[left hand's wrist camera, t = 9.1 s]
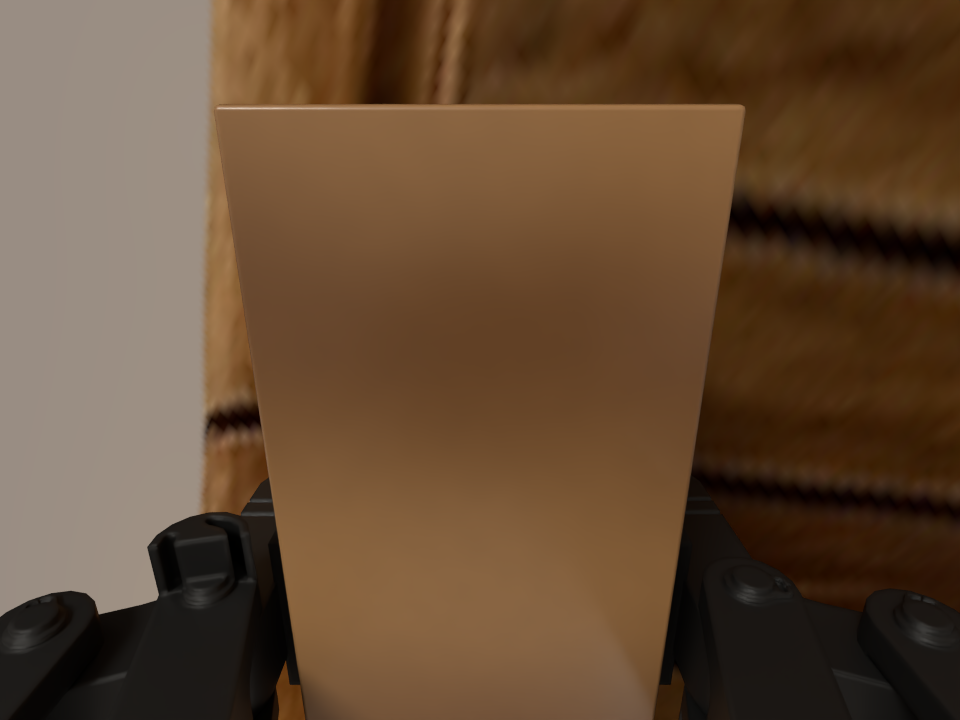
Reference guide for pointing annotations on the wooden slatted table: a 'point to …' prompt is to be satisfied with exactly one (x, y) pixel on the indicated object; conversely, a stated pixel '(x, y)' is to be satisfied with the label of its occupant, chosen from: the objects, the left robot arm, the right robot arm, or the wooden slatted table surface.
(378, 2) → the wooden slatted table surface
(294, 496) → the beam
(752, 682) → the left robot arm
